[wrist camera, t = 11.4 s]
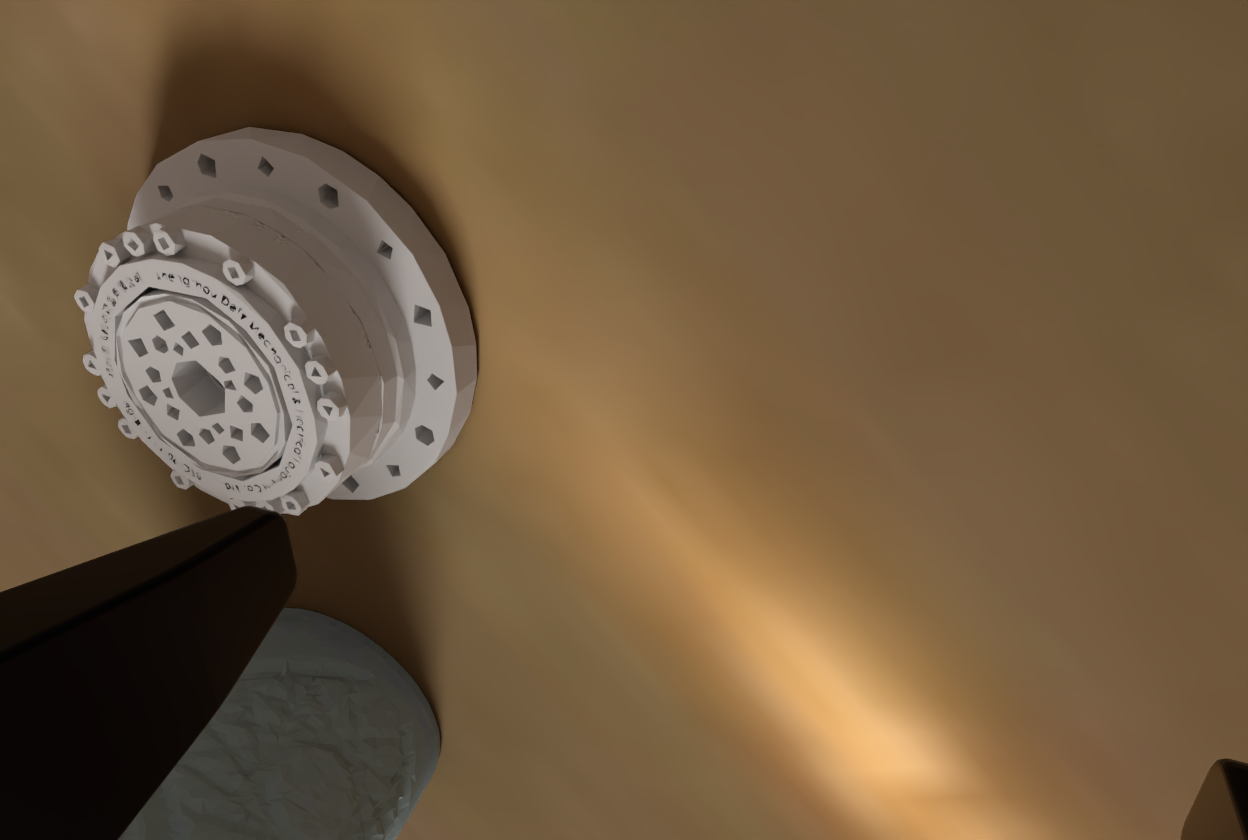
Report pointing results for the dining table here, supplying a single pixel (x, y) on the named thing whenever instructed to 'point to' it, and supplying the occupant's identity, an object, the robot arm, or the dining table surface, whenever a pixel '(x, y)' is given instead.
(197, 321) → the mechanical component
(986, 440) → the dining table surface
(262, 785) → the blue-grey cup
